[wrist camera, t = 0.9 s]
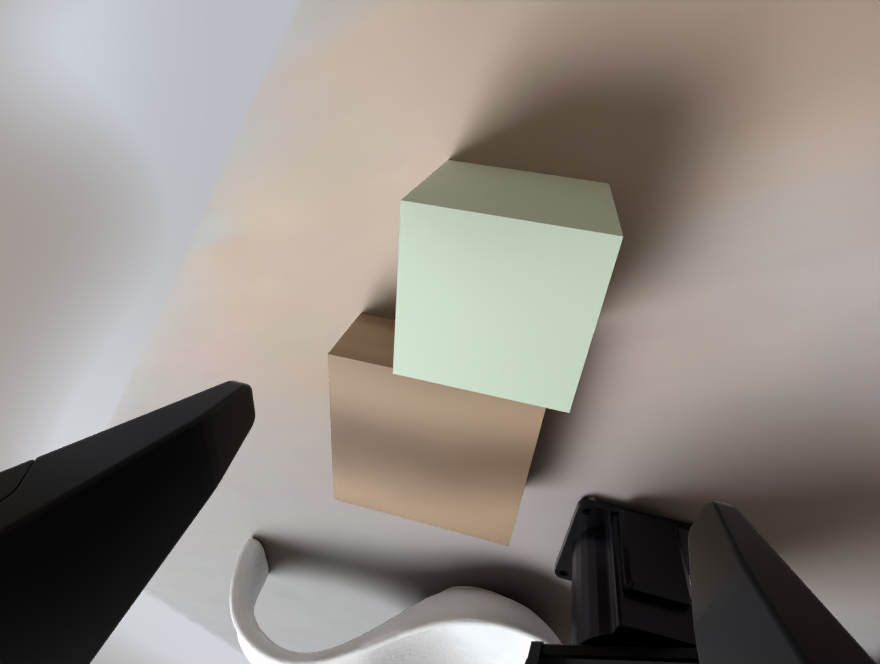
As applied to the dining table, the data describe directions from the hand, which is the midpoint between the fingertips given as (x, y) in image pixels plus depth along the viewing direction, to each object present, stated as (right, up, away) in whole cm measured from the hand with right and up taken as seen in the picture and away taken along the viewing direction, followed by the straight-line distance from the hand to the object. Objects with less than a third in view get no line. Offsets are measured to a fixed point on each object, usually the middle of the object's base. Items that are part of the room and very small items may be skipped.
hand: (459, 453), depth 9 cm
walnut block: (0, -1, +15) cm, 15 cm away
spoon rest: (-3, -16, +25) cm, 30 cm away
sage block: (+3, +6, +10) cm, 12 cm away
